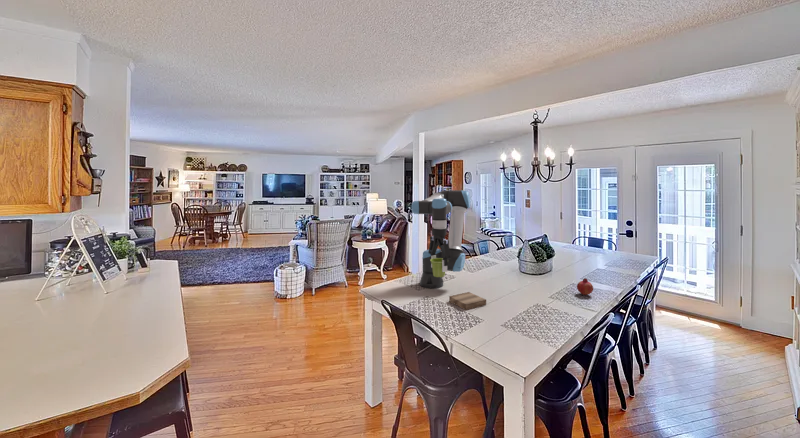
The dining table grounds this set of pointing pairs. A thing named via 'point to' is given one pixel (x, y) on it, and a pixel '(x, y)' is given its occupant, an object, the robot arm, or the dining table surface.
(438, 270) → the plant pot
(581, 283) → the fruit
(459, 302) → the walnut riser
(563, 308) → the dining table surface
